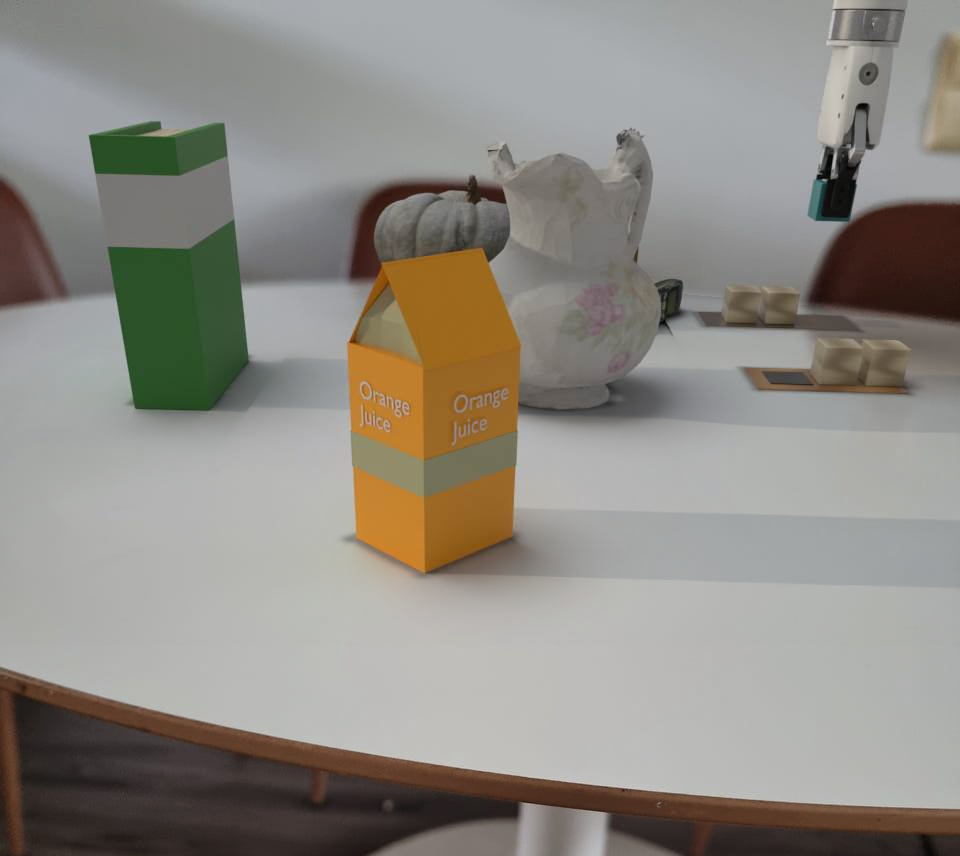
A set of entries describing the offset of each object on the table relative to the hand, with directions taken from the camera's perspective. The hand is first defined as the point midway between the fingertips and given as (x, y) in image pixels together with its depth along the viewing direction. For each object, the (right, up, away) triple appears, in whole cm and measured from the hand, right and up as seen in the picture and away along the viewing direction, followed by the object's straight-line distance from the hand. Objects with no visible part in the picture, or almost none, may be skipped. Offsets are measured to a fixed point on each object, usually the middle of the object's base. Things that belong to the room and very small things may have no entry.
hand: (829, 212), depth 115 cm
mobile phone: (-18, -8, +16) cm, 25 cm away
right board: (-3, -22, -7) cm, 23 cm away
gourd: (-43, -4, +22) cm, 49 cm away
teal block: (0, -1, 0) cm, 1 cm away
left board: (-2, -8, +16) cm, 18 cm away
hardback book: (-72, -23, -11) cm, 76 cm away
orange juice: (-45, -43, -43) cm, 76 cm away
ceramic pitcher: (-32, -24, -12) cm, 42 cm away
